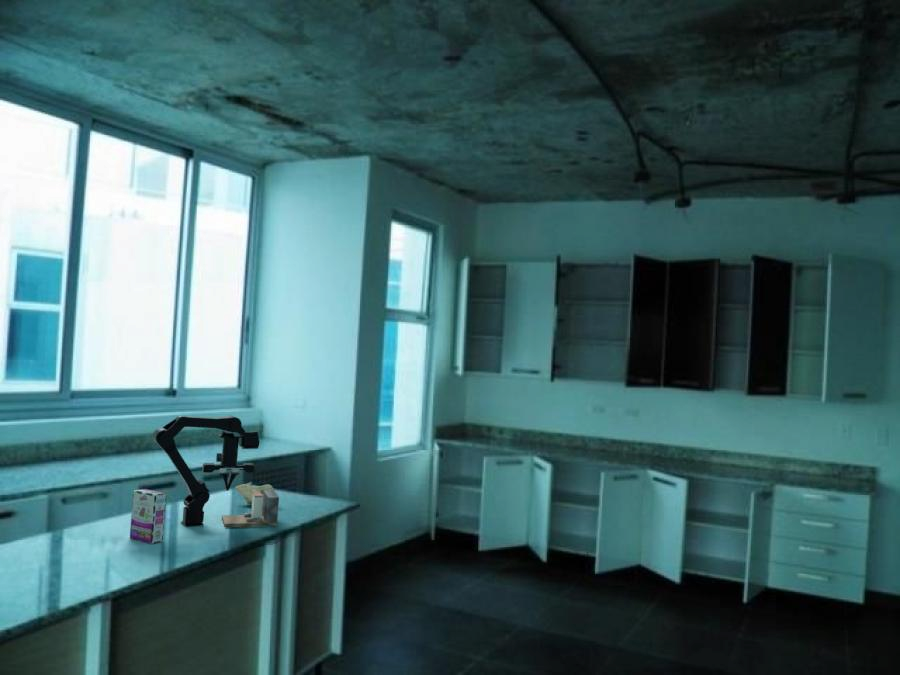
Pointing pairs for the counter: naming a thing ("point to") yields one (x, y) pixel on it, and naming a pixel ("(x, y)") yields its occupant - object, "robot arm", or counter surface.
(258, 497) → the pink-topped white block
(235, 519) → the wooden platform
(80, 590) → the counter surface
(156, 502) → the candy bar box
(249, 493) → the cheese
